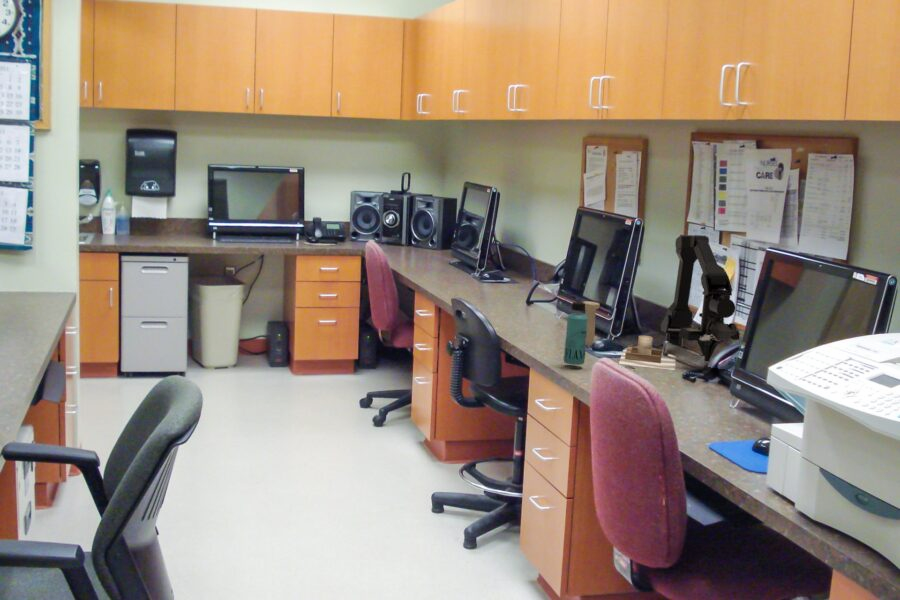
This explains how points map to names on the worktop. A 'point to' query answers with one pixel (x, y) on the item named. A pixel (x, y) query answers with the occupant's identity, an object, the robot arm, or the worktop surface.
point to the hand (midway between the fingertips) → (706, 361)
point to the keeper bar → (683, 353)
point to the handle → (590, 320)
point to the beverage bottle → (576, 336)
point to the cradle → (647, 359)
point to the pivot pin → (645, 345)
